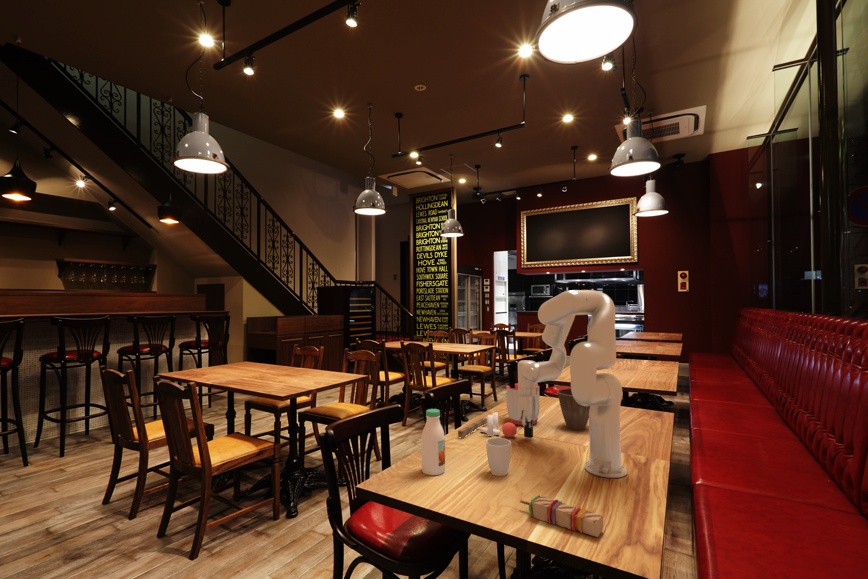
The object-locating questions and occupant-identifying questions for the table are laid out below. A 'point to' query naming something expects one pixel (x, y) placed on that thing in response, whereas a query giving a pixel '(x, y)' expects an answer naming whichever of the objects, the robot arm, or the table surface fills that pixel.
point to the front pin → (495, 432)
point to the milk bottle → (433, 444)
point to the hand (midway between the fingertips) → (528, 437)
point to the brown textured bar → (471, 427)
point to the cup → (498, 455)
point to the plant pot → (573, 411)
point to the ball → (509, 429)
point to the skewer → (565, 515)
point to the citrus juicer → (513, 404)
